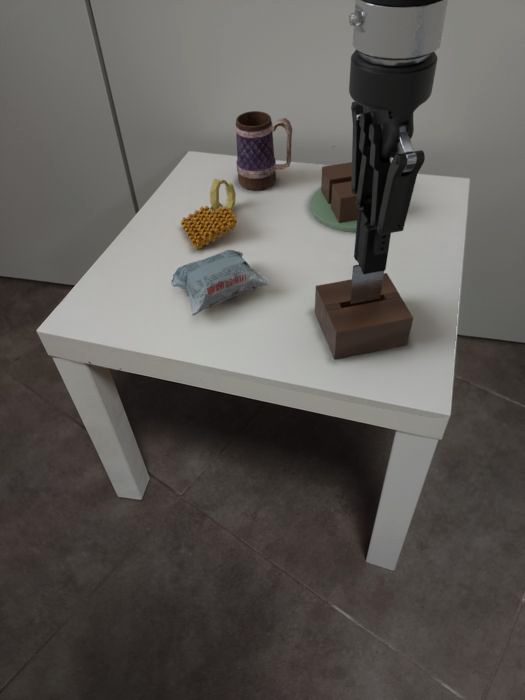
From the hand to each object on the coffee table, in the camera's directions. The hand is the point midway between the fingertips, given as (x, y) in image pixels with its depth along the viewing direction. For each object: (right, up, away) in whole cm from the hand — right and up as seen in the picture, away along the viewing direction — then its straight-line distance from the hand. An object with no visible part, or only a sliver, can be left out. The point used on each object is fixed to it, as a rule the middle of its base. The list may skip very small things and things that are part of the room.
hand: (369, 263), depth 65 cm
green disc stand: (+3, +14, +28) cm, 32 cm away
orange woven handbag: (-21, +10, +26) cm, 35 cm away
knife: (0, -4, +4) cm, 6 cm away
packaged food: (-19, -2, +15) cm, 24 cm away
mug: (-12, +20, +35) cm, 42 cm away
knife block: (0, -7, +8) cm, 11 cm away
